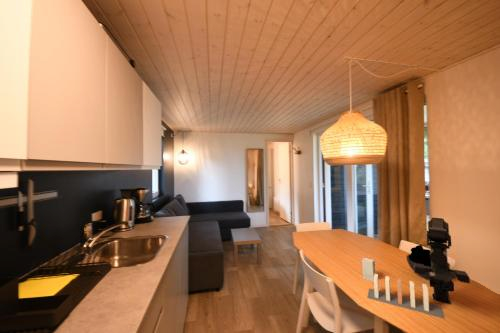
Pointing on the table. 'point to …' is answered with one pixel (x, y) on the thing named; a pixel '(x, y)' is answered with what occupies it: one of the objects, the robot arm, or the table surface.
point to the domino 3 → (399, 291)
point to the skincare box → (368, 269)
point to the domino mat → (407, 303)
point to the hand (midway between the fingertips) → (440, 291)
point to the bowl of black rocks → (420, 258)
